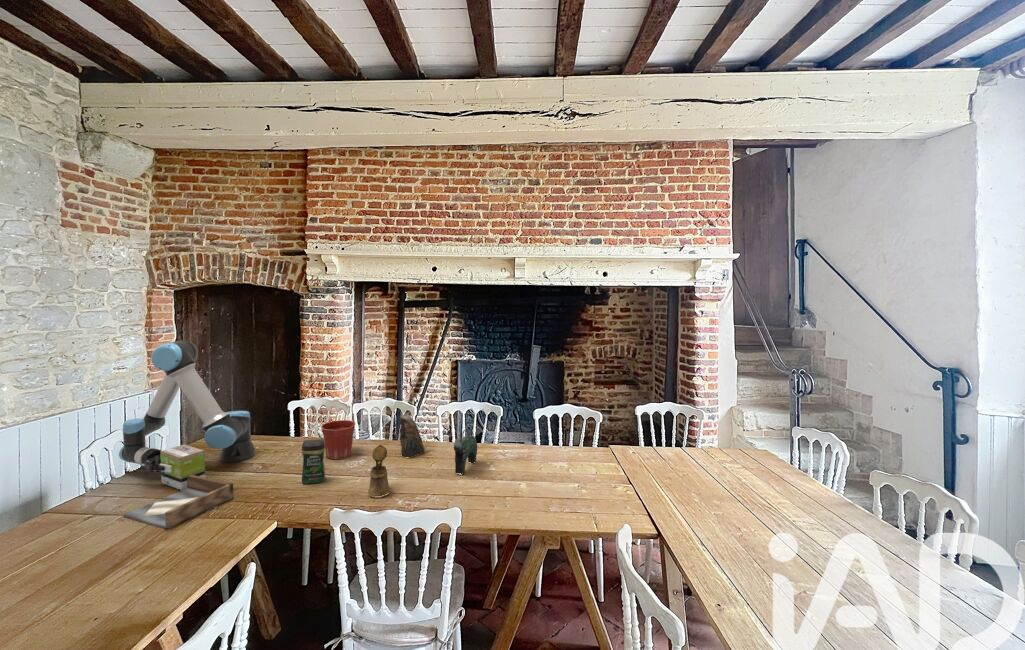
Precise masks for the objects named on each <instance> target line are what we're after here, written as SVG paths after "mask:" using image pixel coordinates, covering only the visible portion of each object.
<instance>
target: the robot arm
mask: <svg viewBox="0 0 1025 650" xmlns="http://www.w3.org/2000/svg"><path fill="white" fill-rule="evenodd" d="M198 355H199V351H198V348H197V346H196V344H194V343H193V342H191V341H190V340H185V339H181V340H177V341H171V342H166V343H163V344H161V345H158V346H157V347H156V348H155V349H154V350H153V351H152V353H151V357H150V358H151V362H152V365H153V367H154V368H156V369H157V370H158V371H159V370H160V371H162V372H164V373H165V374H164V376H163V379H162V380H161V383H160V385H159V387H158V389H157V390H156V393H155V395H154V397H153V398H152V401H151V403H150V405H149V407H148V409H147V411H146V413H145V415H144V417H143V418H132V419H128V420H125V421H124V422H123V424H122V437H123V439H122V440H123V446H122V447H121V448H120V450H119V452H118V457H119V459H120V460H122V461H124V462H126V463H132V464H138V465H141V468H143V469H145V470H147V471H148V472H149V473H153V472H154V471H155V473H156V474H157V473H160V471H165V472H169V473H171V472H172V466H171V465H166V464H161V458H160V451H162V450H161V449H158V448H154V447H153V448H152V447H148V446H146V436H148V435H150V434H152V433H154V432H156V431H158V430H160V429H161V428H163V427H164V425H165V424H166V415H167V413H168V412H169V410H170V408H171V406H172V403H173V401H174V399H175V397H176V396H177V393H178V392H179V389H181V391H182V393H183V394H184V396H185V397H186V398H187V400H188V401H189V403H190V405H191V406H192V408H193V409H194V411H195V412H196V414H197V415H198V416H199V418H200V420H201V421H202V422H203V423H202V425H201V428H202V430H203V431H204V433H205V434H204V442H205V444H206V445H207V446H209V448H211V449H216V450H221V451H220V454H219V461H220V462H223V463H236V462H242V461H243V462H244V461H245V460H249V459H251V458H252V457H254V456H255V455H256V449H255V447H254V445H253V444H254V443H253V442H252V439H251V437H252V435H251V413H250V412H249V411H248V410H232V411H223V410H222V408H221V407H220V405H219V404H218V402H217V400H216V399H215V397H214V396H213V394H212V393H211V391H210V390H209V388H208V387H207V385H206V384H205V382H204V380H202V378H201V376H200V374H199V373H198V371H197V370H196V369H195V368H196V361H197V359H198Z"/></svg>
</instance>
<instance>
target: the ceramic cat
mask: <svg viewBox="0 0 1025 650" xmlns="http://www.w3.org/2000/svg"><path fill="white" fill-rule="evenodd" d="M465 431H466V432H467V431H468V430H467V429H466V428H465V429H464V430H463V431H462V435H463V436H462V438H461V437H457V438H456V439H455V440H454V444H453V451H454V453H455V455H454V463H455V464H454V465H455V469H454V471H455V473H461V474H462V473H464V474H465V472H466V471H465V470H466V469H465V468H466V464H467V460H468V462H471V463H474V462H475V463H476V462H477V454H478V441H477V438H476V437H475V435H474V432H472V431H471V432H469V433H468V434H467V435H464V434H465ZM471 434H472V435H471ZM475 463H474V464H475Z"/></svg>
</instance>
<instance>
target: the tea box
mask: <svg viewBox="0 0 1025 650" xmlns="http://www.w3.org/2000/svg"><path fill="white" fill-rule="evenodd" d="M160 458H161V463H160V464H166V465H171V466H172V472H171V473H169V472H165V471H161V473H160V474H161V475H160V476H161V483H162V484H164V485H166V486H170V487H172V488H175V489H177V490H179V489H180V491H182V490H184V489H186V488H188V485H187V476H188V475H195V476H199V477H204V478H206V466H205V463H206V462H205V450H204V449H200V448H197V447H194V446H191V445H188V444H185V443H184V444H179V445H178V446H177V445H176V446H174V447H170V448H167V449H164V450H161V451H160Z"/></svg>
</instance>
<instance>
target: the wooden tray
mask: <svg viewBox="0 0 1025 650" xmlns="http://www.w3.org/2000/svg"><path fill="white" fill-rule="evenodd" d="M187 485H188V488H186V489H184V490H180V491H177V492H175V493H172V494H169V495H168V496H165V497H163V498H160V499H157V500H155V501H153V502H151V503H148V504H146V505H144V506H141V507H138V508H137V509H134V510H131V511H129V512H126V513H124V514H123V518H127V519H129V518H130V519H131V520H133V519H134V520H133V521H138V522H140V521H141V523H144V522H145V524H147V523H148V525H151V524H152V526H155V527H158V526H159V528H161V529H165V528H166V530H171V529H173V528H174V526H175V527H177V526H179V525H181V524H183V523H185V522H187V521H189V520H191V519H193V518H195V517H197V516H199V515H202V514H203V513H205V512H208V511H210V510H212V509H214V508H216V507H218V506H220V505H222V504H224V503H226V502H228V501H230V500H232V499H231V498H233V499H234V483H230V482H226V481H222V480H218V479H212V478H208V477H205V478H204V477H199V476H195V475H188V476H187ZM229 499H230V500H229ZM227 500H228V501H227ZM225 501H226V502H225ZM130 519H129V520H130ZM176 525H177V526H176ZM172 527H173V528H172ZM170 528H171V529H170Z"/></svg>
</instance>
